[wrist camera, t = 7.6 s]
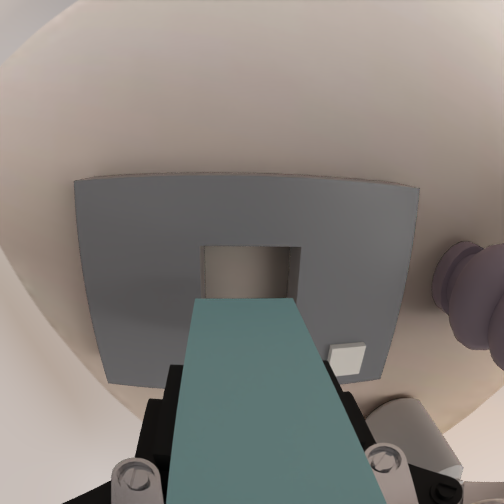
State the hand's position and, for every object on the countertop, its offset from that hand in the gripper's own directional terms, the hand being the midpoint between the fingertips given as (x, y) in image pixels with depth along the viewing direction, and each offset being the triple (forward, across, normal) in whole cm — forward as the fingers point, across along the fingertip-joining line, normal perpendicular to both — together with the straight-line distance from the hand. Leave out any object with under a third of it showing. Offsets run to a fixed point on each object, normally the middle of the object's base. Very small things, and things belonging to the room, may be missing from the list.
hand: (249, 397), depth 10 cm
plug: (+3, 0, 0) cm, 3 cm away
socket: (+11, -1, 0) cm, 11 cm away
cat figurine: (+11, -19, 0) cm, 22 cm away
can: (+11, -16, +16) cm, 25 cm away
